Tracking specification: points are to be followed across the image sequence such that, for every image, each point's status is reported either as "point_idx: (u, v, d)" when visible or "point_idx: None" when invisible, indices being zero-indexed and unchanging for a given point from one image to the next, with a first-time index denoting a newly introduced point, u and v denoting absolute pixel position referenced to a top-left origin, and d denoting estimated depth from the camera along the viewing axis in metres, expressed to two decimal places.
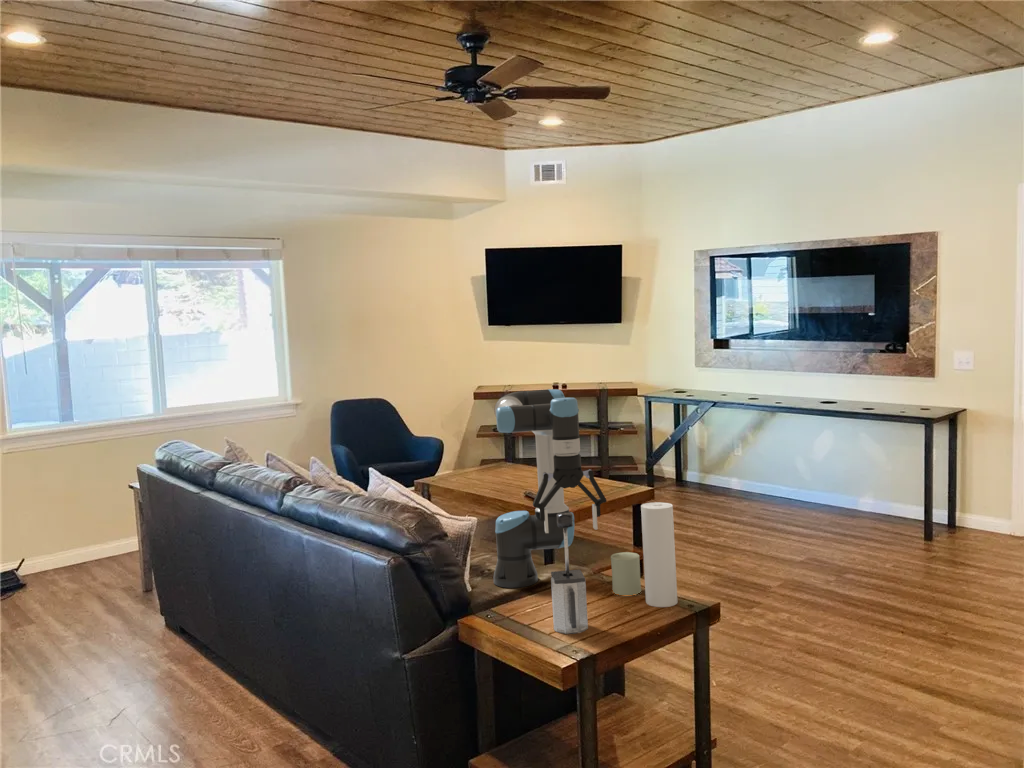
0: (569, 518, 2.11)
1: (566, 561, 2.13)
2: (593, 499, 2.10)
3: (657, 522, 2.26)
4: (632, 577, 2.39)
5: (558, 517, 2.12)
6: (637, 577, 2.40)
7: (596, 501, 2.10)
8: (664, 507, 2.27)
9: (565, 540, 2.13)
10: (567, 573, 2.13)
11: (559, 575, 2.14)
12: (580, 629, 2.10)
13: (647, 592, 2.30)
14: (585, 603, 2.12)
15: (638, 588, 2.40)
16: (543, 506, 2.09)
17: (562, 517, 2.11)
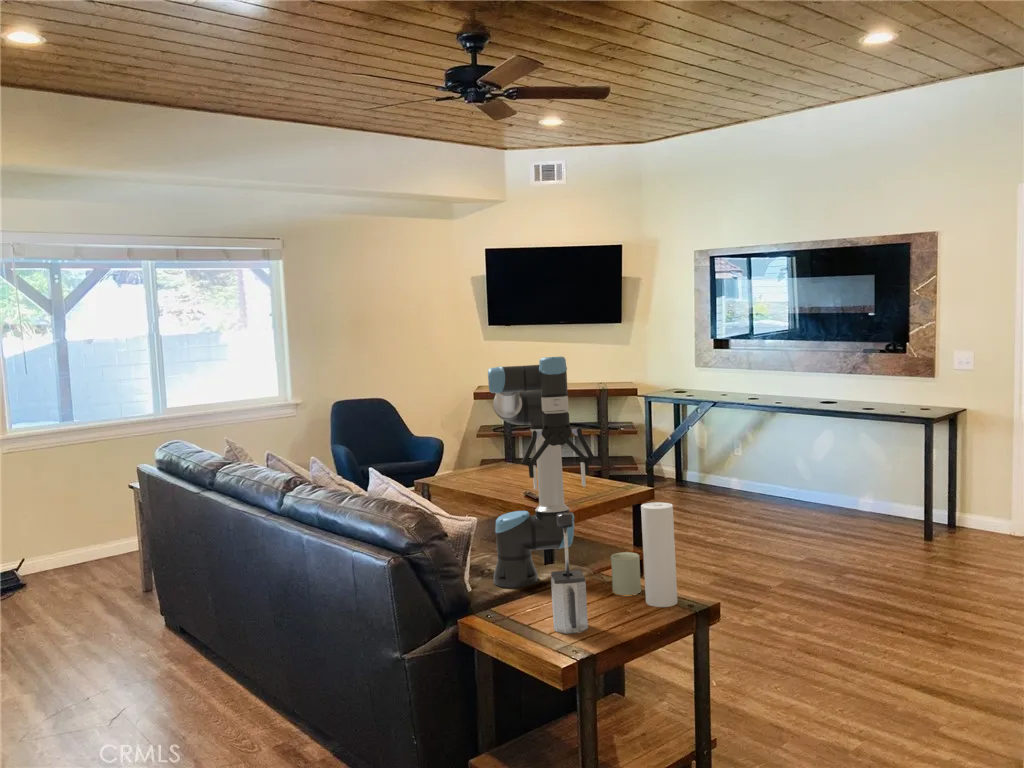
0: (569, 518, 2.11)
1: (566, 561, 2.13)
2: (581, 456, 2.13)
3: (657, 522, 2.26)
4: (632, 577, 2.39)
5: (558, 517, 2.12)
6: (637, 577, 2.40)
7: (584, 458, 2.13)
8: (664, 507, 2.27)
9: (565, 540, 2.13)
10: (567, 573, 2.13)
11: (559, 575, 2.14)
12: (580, 629, 2.10)
13: (647, 592, 2.30)
14: (585, 603, 2.12)
15: (638, 588, 2.40)
16: (532, 463, 2.12)
17: (562, 517, 2.11)
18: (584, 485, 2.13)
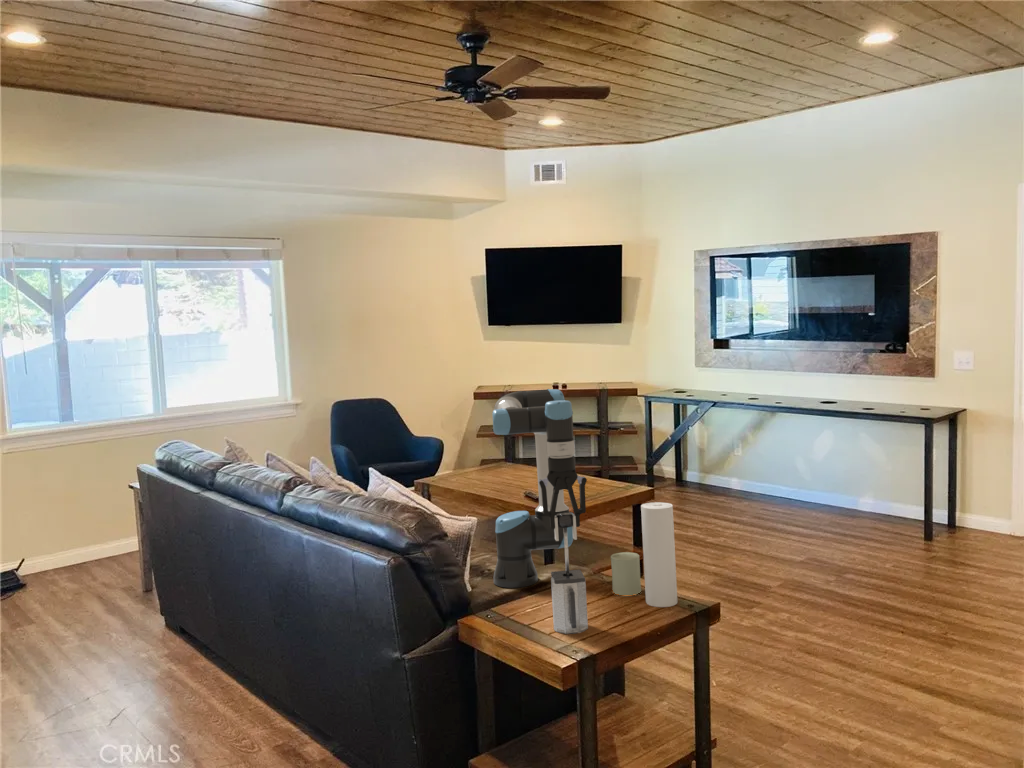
0: (569, 518, 2.11)
1: (566, 561, 2.13)
2: (575, 508, 2.12)
3: (657, 522, 2.26)
4: (632, 577, 2.39)
5: (558, 517, 2.12)
6: (637, 577, 2.40)
7: (576, 511, 2.12)
8: (664, 507, 2.27)
9: (565, 540, 2.13)
10: (567, 573, 2.13)
11: (559, 575, 2.14)
12: (580, 629, 2.10)
13: (647, 592, 2.30)
14: (585, 603, 2.12)
15: (638, 588, 2.40)
16: (553, 514, 2.12)
17: (562, 517, 2.11)
18: (575, 538, 2.12)
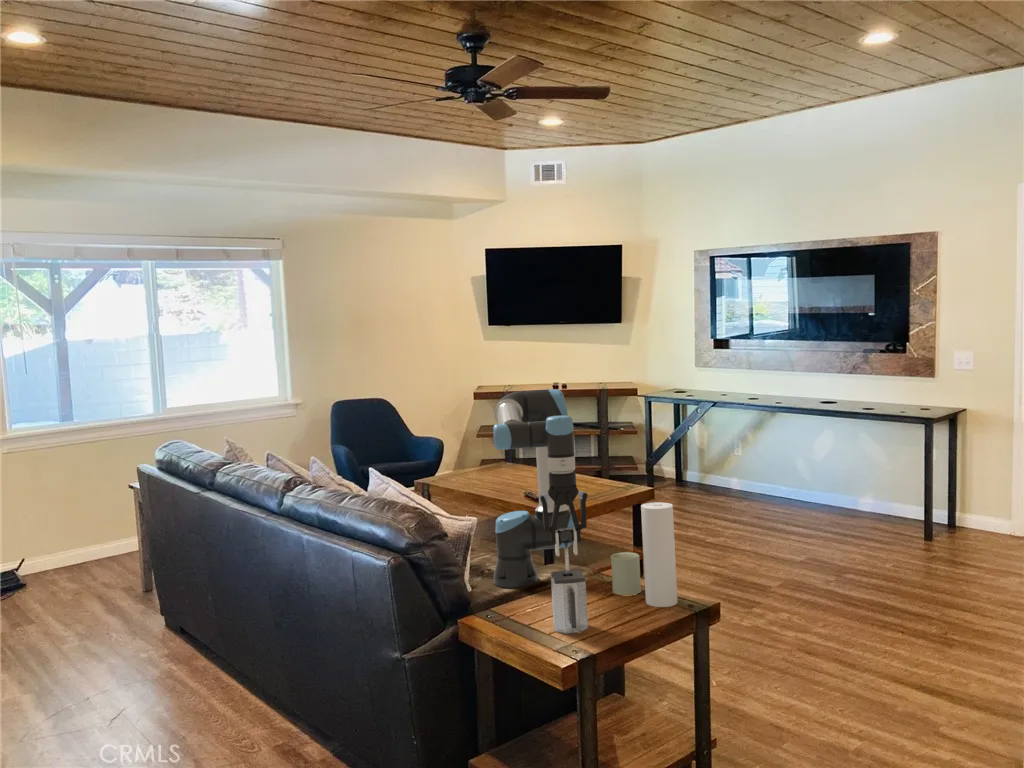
0: (570, 533, 2.12)
1: None
2: (575, 523, 2.12)
3: (657, 522, 2.26)
4: (632, 577, 2.39)
5: (559, 532, 2.12)
6: (637, 577, 2.40)
7: (577, 526, 2.12)
8: (664, 507, 2.27)
9: (566, 555, 2.13)
10: None
11: (559, 575, 2.14)
12: (580, 629, 2.10)
13: (647, 592, 2.30)
14: (585, 603, 2.12)
15: (638, 588, 2.40)
16: (554, 529, 2.12)
17: (563, 532, 2.11)
18: (576, 553, 2.12)
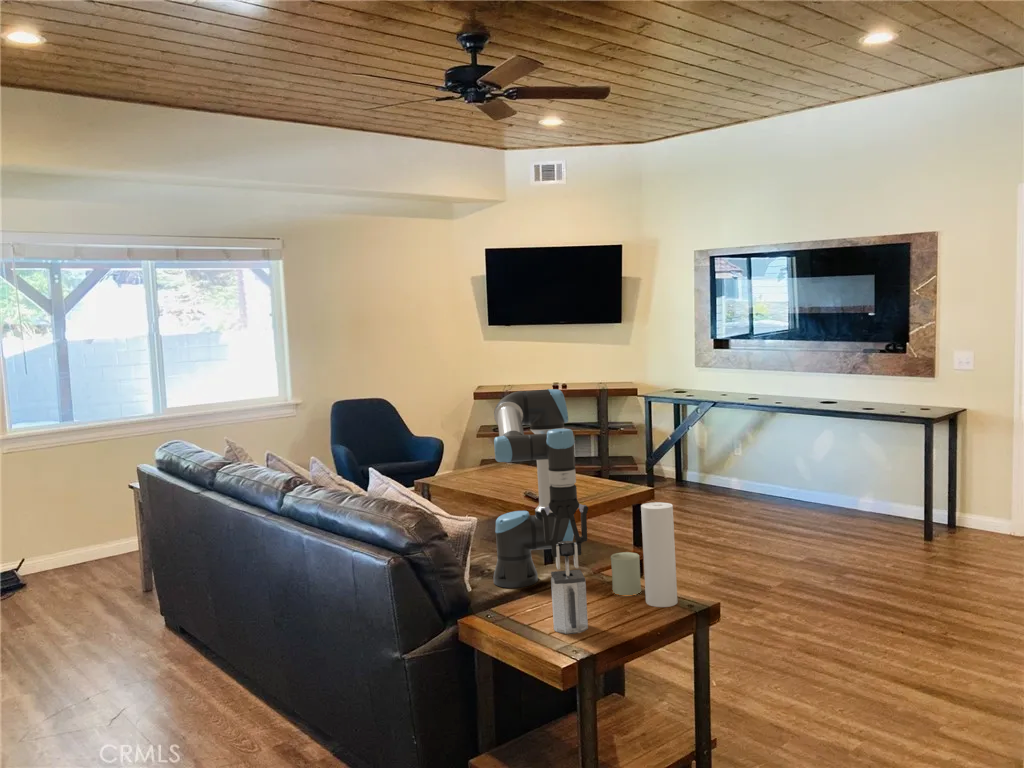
0: (570, 547, 2.12)
1: None
2: (576, 536, 2.12)
3: (657, 522, 2.26)
4: (632, 577, 2.39)
5: (560, 546, 2.12)
6: (637, 577, 2.40)
7: (578, 539, 2.13)
8: (664, 507, 2.27)
9: (567, 568, 2.13)
10: None
11: (559, 575, 2.14)
12: (580, 629, 2.10)
13: (647, 592, 2.30)
14: (585, 603, 2.12)
15: (638, 588, 2.40)
16: (554, 542, 2.12)
17: (564, 546, 2.11)
18: (577, 566, 2.13)
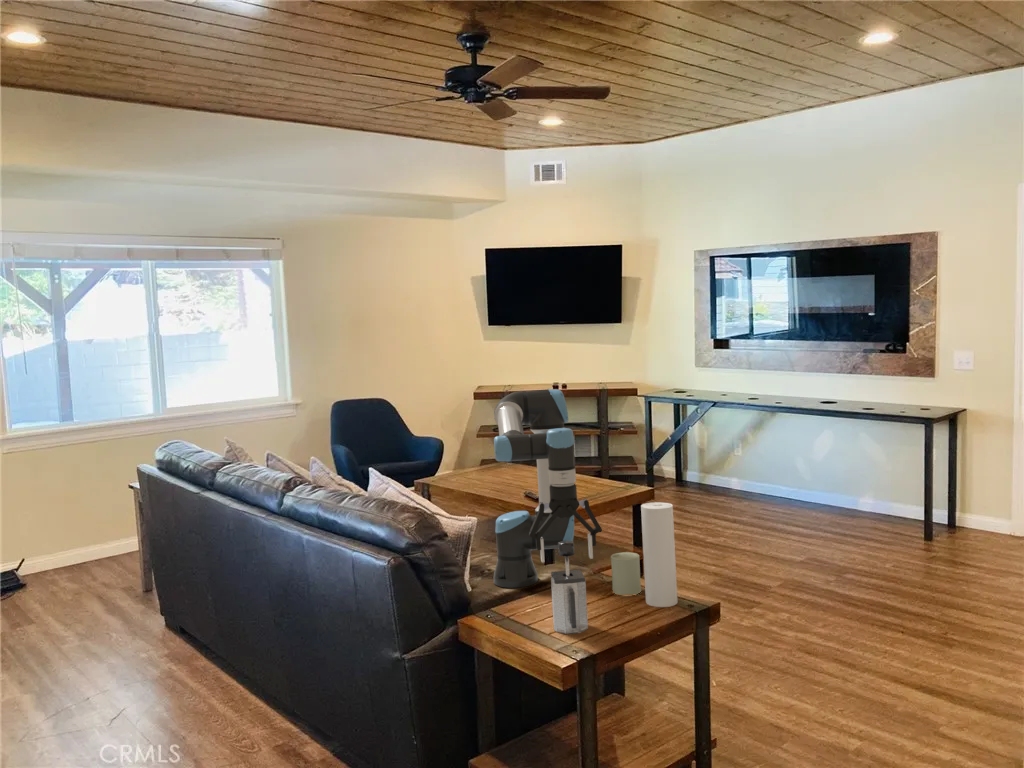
0: (570, 547, 2.12)
1: None
2: (589, 529, 2.13)
3: (657, 522, 2.26)
4: (632, 577, 2.39)
5: (560, 545, 2.12)
6: (637, 577, 2.40)
7: (592, 531, 2.13)
8: (664, 507, 2.27)
9: (567, 568, 2.13)
10: None
11: (559, 575, 2.14)
12: (580, 629, 2.10)
13: (647, 592, 2.30)
14: (585, 603, 2.12)
15: (638, 588, 2.40)
16: (539, 536, 2.12)
17: (564, 546, 2.11)
18: (591, 557, 2.13)
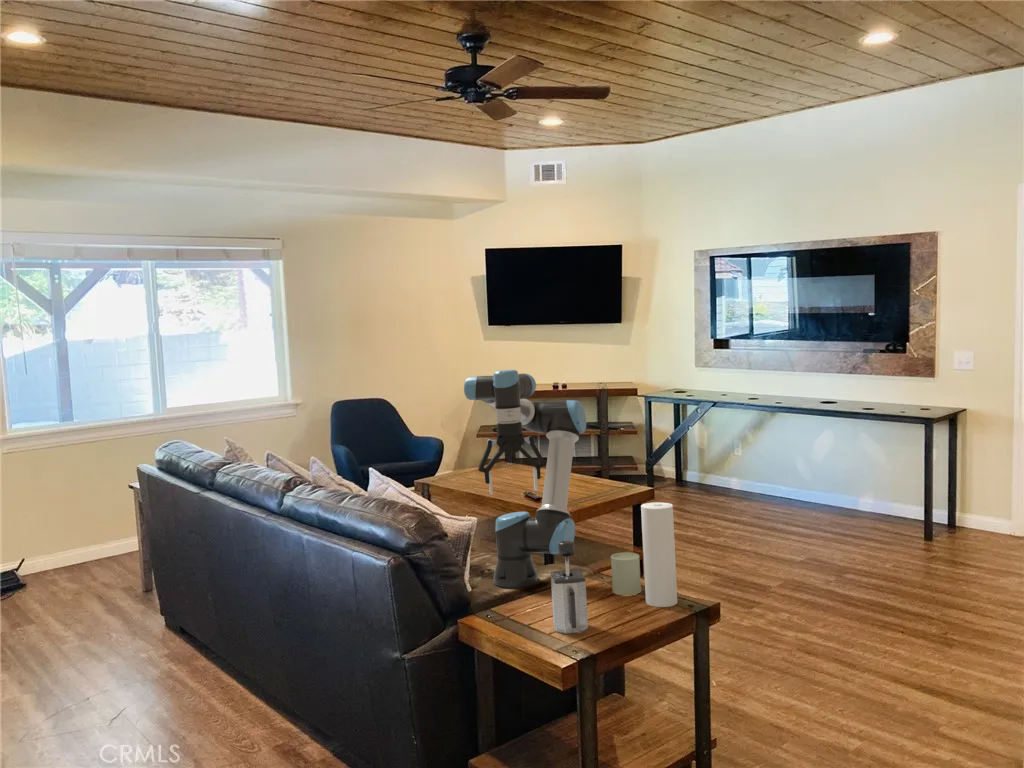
0: (570, 547, 2.12)
1: None
2: (534, 463, 2.28)
3: (657, 522, 2.26)
4: (632, 577, 2.39)
5: (560, 545, 2.12)
6: (637, 577, 2.40)
7: (536, 465, 2.29)
8: (664, 507, 2.27)
9: (567, 568, 2.13)
10: None
11: (559, 575, 2.14)
12: (580, 629, 2.10)
13: (647, 592, 2.30)
14: (585, 603, 2.12)
15: (638, 588, 2.40)
16: (488, 470, 2.27)
17: (564, 546, 2.11)
18: (536, 489, 2.29)
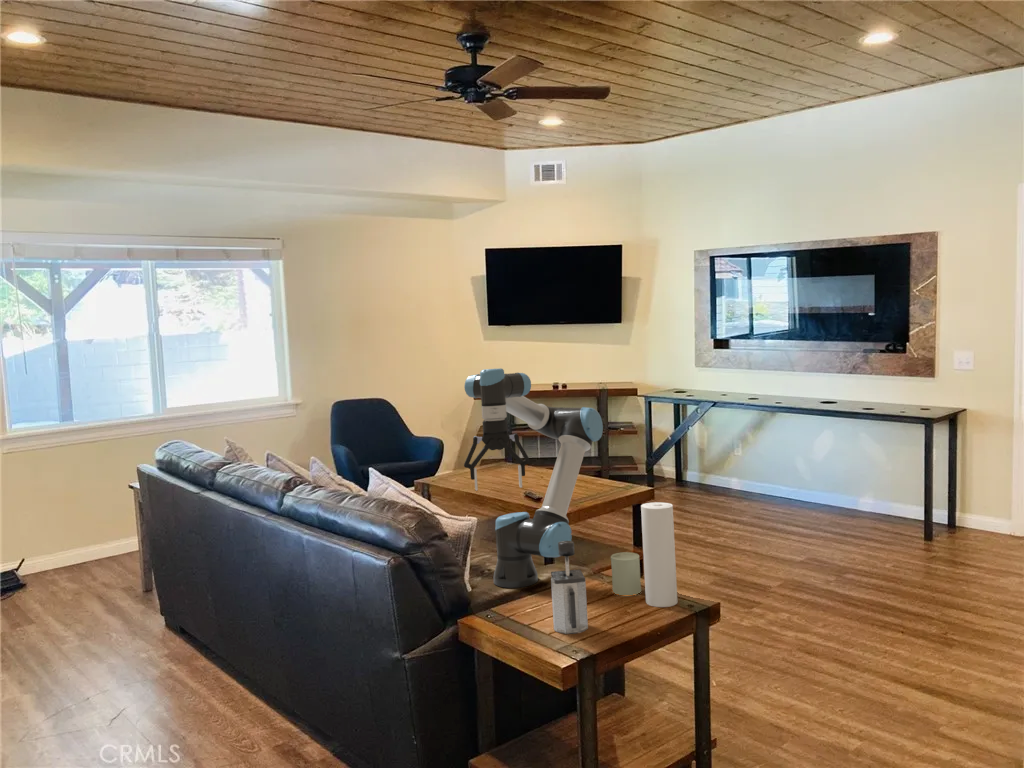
0: (570, 547, 2.12)
1: None
2: (518, 460, 2.33)
3: (657, 522, 2.26)
4: (632, 577, 2.39)
5: (560, 545, 2.12)
6: (637, 577, 2.40)
7: (521, 462, 2.33)
8: (664, 507, 2.27)
9: (567, 568, 2.13)
10: None
11: (559, 575, 2.14)
12: (580, 629, 2.10)
13: (647, 592, 2.30)
14: (585, 603, 2.12)
15: (638, 588, 2.40)
16: (473, 466, 2.32)
17: (564, 546, 2.11)
18: (521, 486, 2.33)
